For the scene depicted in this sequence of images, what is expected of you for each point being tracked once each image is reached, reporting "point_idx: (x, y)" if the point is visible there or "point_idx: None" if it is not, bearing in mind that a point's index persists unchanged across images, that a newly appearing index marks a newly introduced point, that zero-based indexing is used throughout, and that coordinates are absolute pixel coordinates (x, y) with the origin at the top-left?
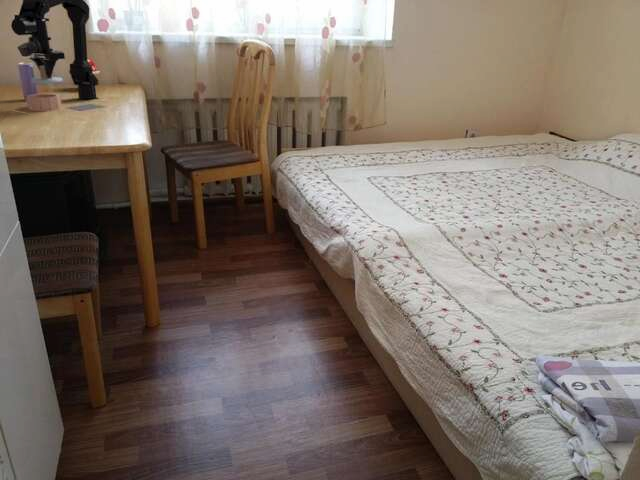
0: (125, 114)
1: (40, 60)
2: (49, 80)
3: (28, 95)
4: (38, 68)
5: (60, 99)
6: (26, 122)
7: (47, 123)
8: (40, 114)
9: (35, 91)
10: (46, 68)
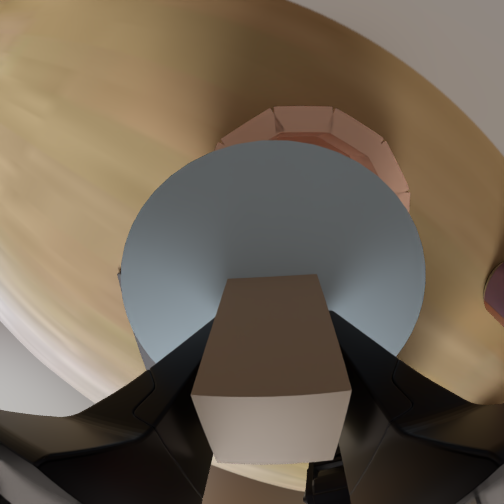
0: (35, 329)
1: (388, 499)
2: (131, 262)
3: (396, 165)
4: (391, 356)
5: None
6: (81, 23)
7: (29, 80)
8: (175, 108)
9: (501, 309)
10: (146, 375)
